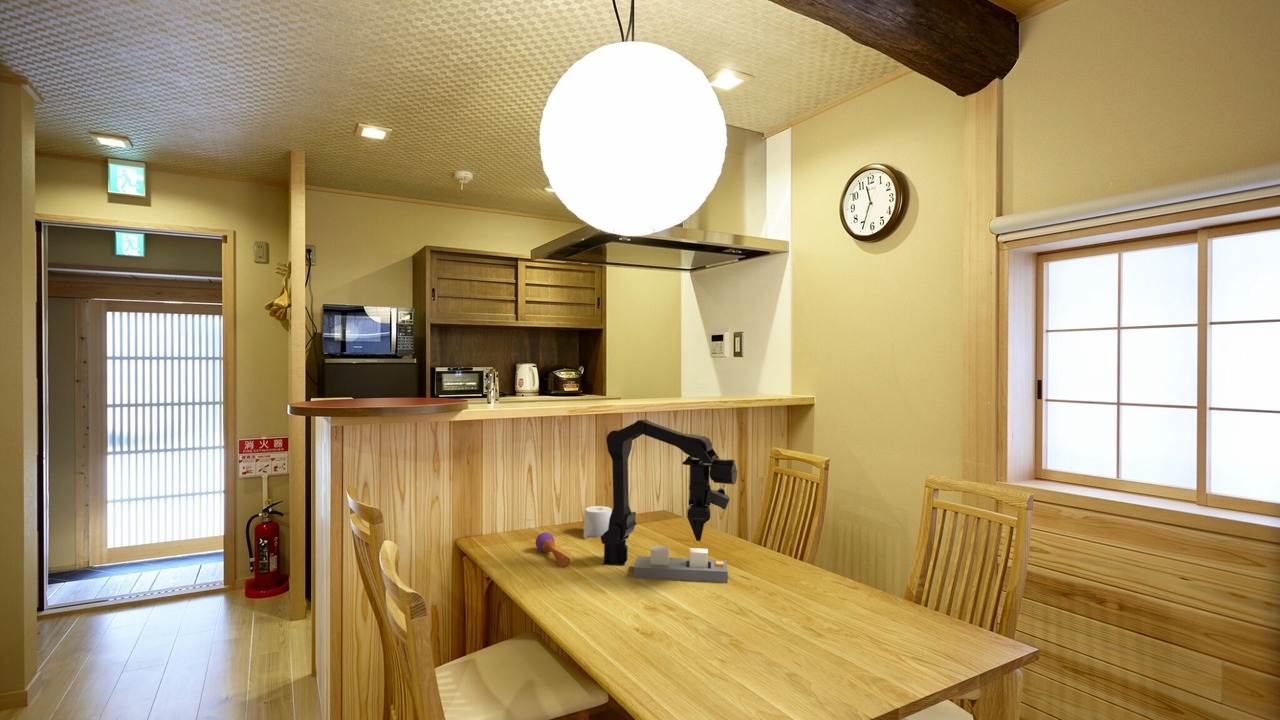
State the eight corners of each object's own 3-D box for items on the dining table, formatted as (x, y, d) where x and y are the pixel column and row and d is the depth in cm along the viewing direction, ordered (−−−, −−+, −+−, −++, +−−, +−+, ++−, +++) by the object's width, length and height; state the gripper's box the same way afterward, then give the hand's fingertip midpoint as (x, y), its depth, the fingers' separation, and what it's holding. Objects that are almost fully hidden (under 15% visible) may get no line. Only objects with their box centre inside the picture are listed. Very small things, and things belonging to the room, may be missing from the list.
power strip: (633, 577, 173) (633, 552, 173) (637, 566, 183) (637, 542, 183) (727, 582, 170) (727, 557, 170) (726, 570, 180) (726, 546, 180)
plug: (689, 577, 174) (689, 552, 174) (690, 572, 178) (690, 548, 178) (707, 578, 174) (707, 553, 174) (707, 573, 178) (707, 548, 178)
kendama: (553, 555, 180) (531, 533, 197) (556, 574, 180) (534, 550, 198) (572, 549, 182) (549, 527, 200) (575, 568, 183) (551, 544, 201)
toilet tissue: (581, 540, 209) (582, 514, 209) (586, 529, 222) (587, 505, 222) (608, 541, 208) (608, 515, 208) (612, 530, 221) (612, 506, 221)
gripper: (729, 488, 166) (728, 547, 166) (726, 476, 185) (726, 528, 185) (687, 487, 167) (686, 545, 167) (689, 475, 186) (688, 527, 186)
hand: (698, 536), depth 176 cm, fingers open, 9 cm apart
